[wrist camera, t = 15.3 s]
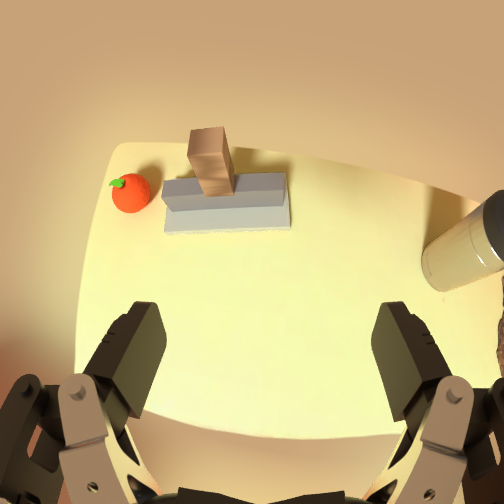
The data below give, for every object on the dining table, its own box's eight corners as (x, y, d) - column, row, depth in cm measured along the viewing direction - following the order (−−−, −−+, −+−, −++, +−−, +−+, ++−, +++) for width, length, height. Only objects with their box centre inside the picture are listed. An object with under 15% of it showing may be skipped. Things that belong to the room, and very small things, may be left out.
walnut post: (234, 172, 39) (223, 126, 30) (233, 195, 38) (222, 152, 29) (207, 174, 40) (190, 130, 30) (205, 197, 38) (187, 155, 29)
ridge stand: (285, 176, 46) (287, 153, 40) (289, 230, 43) (292, 212, 37) (173, 183, 47) (161, 163, 41) (167, 235, 44) (152, 219, 38)
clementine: (113, 214, 46) (93, 196, 40) (129, 182, 48) (112, 162, 42) (146, 223, 45) (128, 205, 38) (162, 189, 47) (147, 167, 40)
